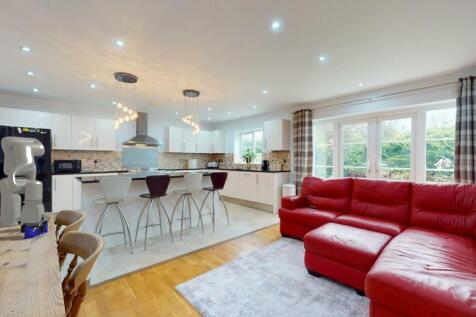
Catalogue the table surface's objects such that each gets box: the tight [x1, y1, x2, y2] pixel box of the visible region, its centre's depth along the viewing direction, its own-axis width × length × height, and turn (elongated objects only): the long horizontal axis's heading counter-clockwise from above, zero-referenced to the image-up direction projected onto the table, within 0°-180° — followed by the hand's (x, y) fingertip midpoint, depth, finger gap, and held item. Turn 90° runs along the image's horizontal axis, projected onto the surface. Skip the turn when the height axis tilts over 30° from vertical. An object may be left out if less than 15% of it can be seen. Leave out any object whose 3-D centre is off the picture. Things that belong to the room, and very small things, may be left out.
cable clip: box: [23, 221, 49, 240], centre depth 129 cm, size 12×4×6 cm, turn 1°
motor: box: [25, 223, 40, 231], centre depth 141 cm, size 9×9×11 cm
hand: (32, 232), depth 129 cm, fingers open, 9 cm apart
